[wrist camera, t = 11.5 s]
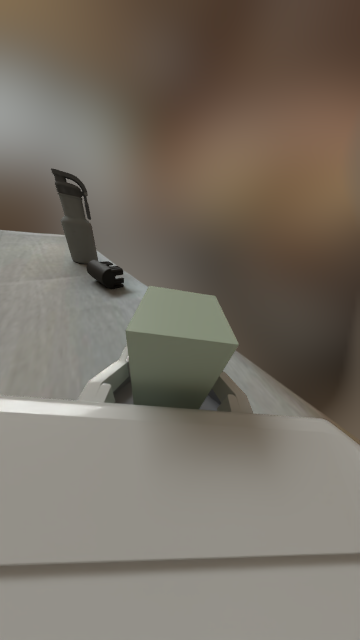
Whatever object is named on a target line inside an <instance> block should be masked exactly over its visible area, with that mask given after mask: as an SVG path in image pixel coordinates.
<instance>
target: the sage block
mask: <svg viewBox="0 0 360 640" xmlns="http://www.w3.org/2000/svg"><path fill="white" fill-rule="evenodd" d="M126 339H127V348H128V357H129V366H130V375H131V385H132V394H133V403H134V405H145V406H159V407H172V408H186V409H199V408H200V407H201V405H202V403H203V402H204V400H205V399H206V397H207V395H208V394H209V392H210V391H211V389H212V387H213V386H214V384H215V382H216V381H217V379H218V378H219V376H220V374H221V373H222V371H223V369H224V368H225V366H226V365H227V363H228V361H229V360H230V358H231V356H232V355H233V353H234V352H235V350H236V348H237V347H238V342H237V340H236V338H235V336H234V334H233V332H232V330H231V328H230V325H229V323H228V321H227V319H226V317H225V316H224V313H223V311H222V309H221V307H220V305H219V303H218V301H217V299H216V297H215V296H211V295H205V294H198V293H192V292H185V291H179V290H173V289H167V288H160V287H154V286H149V287H148V289H147V291H146V293H145V295H144V297H143V299H142V301H141V302H140V304H139V306H138V308H137V310H136V312H135V314H134V316H133V318H132V319H131V321H130V323H129V325H128V327H127V329H126Z"/></svg>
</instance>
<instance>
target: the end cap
mask: <svg viewBox="0 0 360 640" xmlns="http://www.w3.org/2000/svg"><path fill="white" fill-rule="evenodd" d="M109 265H113V264H112V263H110V262H98V261H96V260H92V261H90V262H89V263H88V265H87V271H88V273H89V275H91V276H92V277H93V278H95V279H96V280H98V281H99V282H101V283H102V284H104V285H105V286H107V287H108V288H110V289H115V288H120V287H123V286H124V285H123V284H122V283H124V278H119V279H115V276H116V275H122V274H123V269H122V268H120V267H118V266H113V267H110V266H109Z"/></svg>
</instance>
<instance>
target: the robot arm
mask: <svg viewBox="0 0 360 640" xmlns="http://www.w3.org/2000/svg"><path fill="white" fill-rule="evenodd" d="M129 376H131V375H130V366H129V357H128V348H127V345H126V346H125V348H124V350H123V352H122V354H121V357H120V359H119V361H116V362H115V363H113V364H112V365H110V366H109V367H108V368H106V369H105V370H103V371H102V372H101V373H99V374H98V375H97V376H95V377H94V378H92V379H91V380H90V381H88V383H87V384H86V386H85V388H84V389H83V391H82V393H81V394H80V396H79V398H78V399H77V400H64V399H51V398H38V397H24V396H10V395H0V640H360V445H358V444H357V443H356V442H355V441H353V440H352V439H351V438H350V437H348V436H347V435H346V434H344V433H343V432H342V431H341V430H339V429H338V428H337V427H335V426H334V425H333V424H331V423H330V422H328V421H327V420H324V419H320V418H306V417H293V416H279V415H266V414H253V411H252V408H251V406H250V403H249V401H248V398H247V396H246V394H245V393H244V392H243V391H242V390H241V389H240V388H239V387H238V386H237V385H236V384H235V383H234V382H233V380H232V379H231V378H230V377H229V376H228V375H227V374H226V373H225V372H223V371H222V373H221V374H220V376H219V378H218V379H217V381H216V382H215V384H214V386H213V387H212V389H213V391H214V392H215V394H216V395H217V397H218V398H219V400H220V402H221V404H220V406H219V407H218V408H217V411H212V410H199V409H186V408H172V407H159V406H145V405H132V404H118V403H115V398H114V395H113V392H114V391H115V390H116V389H117V388H118V387H119V386H120V385H121V384H122V383H123V382H124V381H125V380H126V379H127V378H128V377H129Z"/></svg>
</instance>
